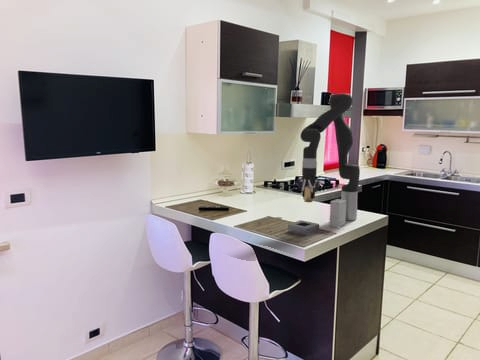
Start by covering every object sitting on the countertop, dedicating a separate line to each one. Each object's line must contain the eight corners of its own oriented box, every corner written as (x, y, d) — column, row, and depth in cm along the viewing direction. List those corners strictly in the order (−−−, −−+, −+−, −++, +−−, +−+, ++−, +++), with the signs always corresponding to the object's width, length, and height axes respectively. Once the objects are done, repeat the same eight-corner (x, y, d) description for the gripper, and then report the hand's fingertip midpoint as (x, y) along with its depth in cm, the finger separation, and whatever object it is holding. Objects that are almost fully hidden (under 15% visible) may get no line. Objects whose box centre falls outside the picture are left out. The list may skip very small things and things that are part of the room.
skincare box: (336, 223, 223) (337, 198, 221) (346, 225, 219) (346, 199, 217) (329, 226, 217) (329, 200, 215) (338, 228, 213) (339, 202, 211)
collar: (300, 227, 216) (300, 220, 216) (319, 231, 208) (319, 224, 207) (287, 231, 208) (287, 224, 207) (306, 236, 200) (306, 228, 199)
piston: (307, 200, 210) (307, 185, 208) (314, 201, 207) (314, 186, 205) (302, 201, 206) (303, 186, 205) (309, 202, 203) (310, 187, 202)
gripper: (324, 167, 202) (323, 199, 204) (302, 165, 211) (301, 195, 214) (317, 168, 196) (315, 201, 199) (294, 166, 206) (293, 197, 208)
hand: (308, 198), depth 206 cm, fingers closed on piston, 4 cm apart
